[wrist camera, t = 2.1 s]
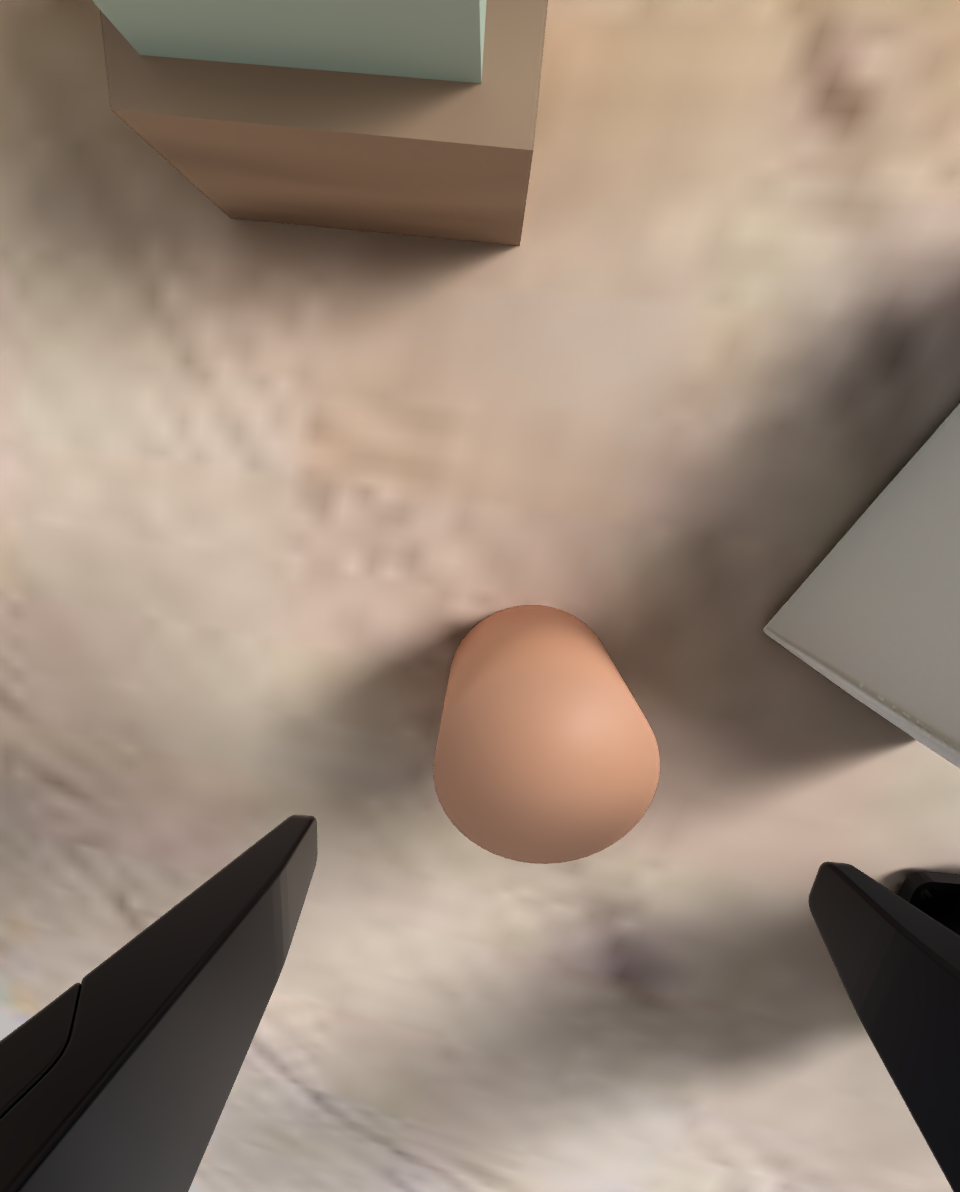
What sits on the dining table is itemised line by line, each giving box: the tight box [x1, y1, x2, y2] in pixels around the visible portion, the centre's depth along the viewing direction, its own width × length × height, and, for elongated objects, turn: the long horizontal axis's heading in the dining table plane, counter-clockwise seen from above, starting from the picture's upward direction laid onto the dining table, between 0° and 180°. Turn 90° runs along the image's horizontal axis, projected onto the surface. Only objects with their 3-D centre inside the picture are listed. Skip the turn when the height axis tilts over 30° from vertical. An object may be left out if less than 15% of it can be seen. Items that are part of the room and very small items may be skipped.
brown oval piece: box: [433, 605, 660, 864], centre depth 13 cm, size 5×5×4 cm
